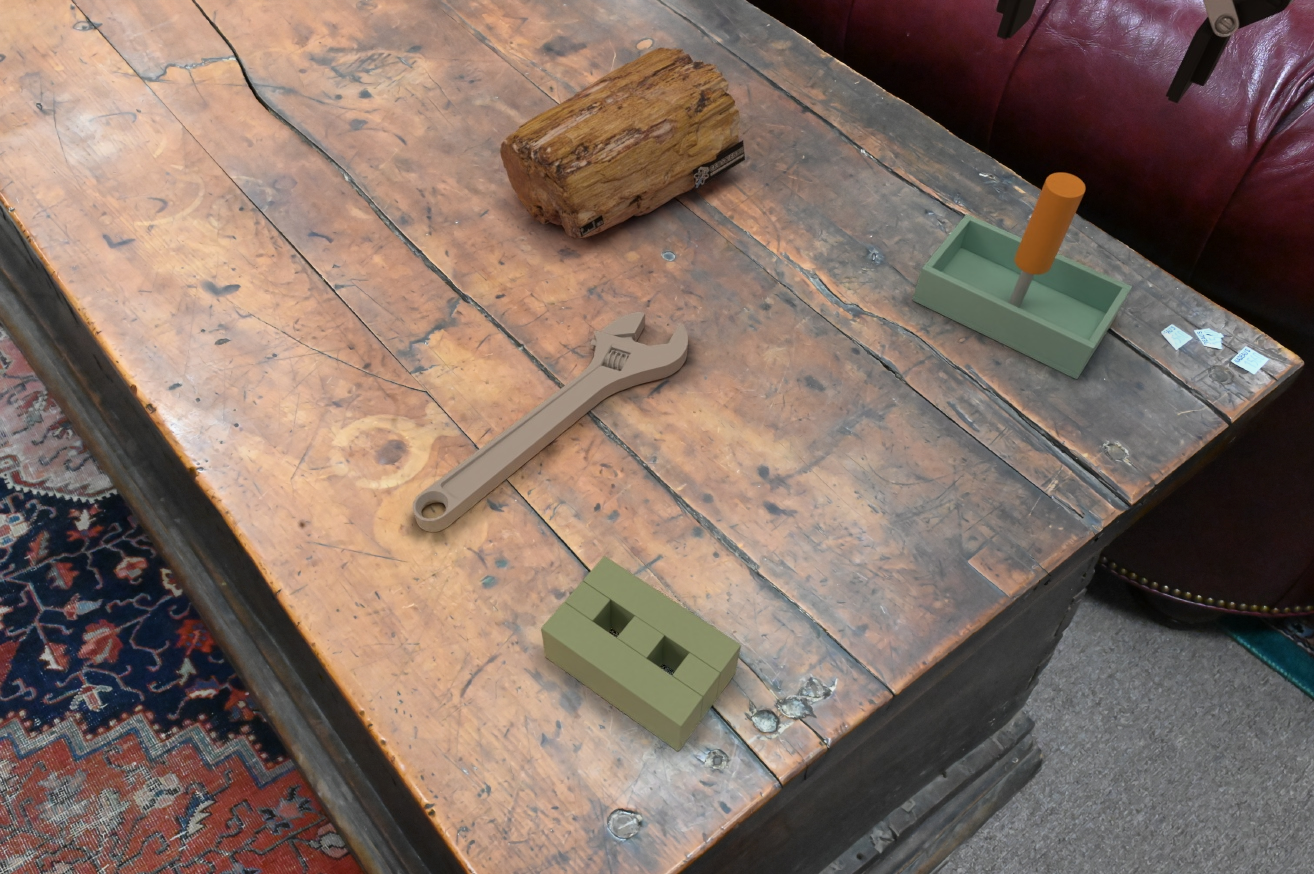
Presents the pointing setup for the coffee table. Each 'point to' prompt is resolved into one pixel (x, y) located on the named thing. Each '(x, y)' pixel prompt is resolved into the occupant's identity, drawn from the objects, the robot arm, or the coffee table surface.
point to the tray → (1052, 313)
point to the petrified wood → (625, 143)
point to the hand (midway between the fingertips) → (1093, 58)
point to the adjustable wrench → (555, 415)
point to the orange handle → (1046, 229)
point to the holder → (641, 651)
